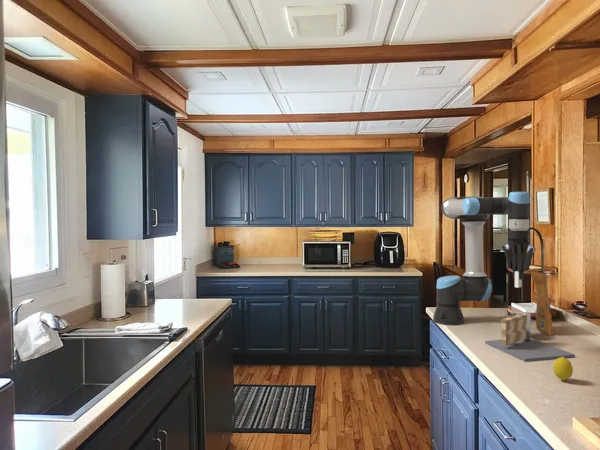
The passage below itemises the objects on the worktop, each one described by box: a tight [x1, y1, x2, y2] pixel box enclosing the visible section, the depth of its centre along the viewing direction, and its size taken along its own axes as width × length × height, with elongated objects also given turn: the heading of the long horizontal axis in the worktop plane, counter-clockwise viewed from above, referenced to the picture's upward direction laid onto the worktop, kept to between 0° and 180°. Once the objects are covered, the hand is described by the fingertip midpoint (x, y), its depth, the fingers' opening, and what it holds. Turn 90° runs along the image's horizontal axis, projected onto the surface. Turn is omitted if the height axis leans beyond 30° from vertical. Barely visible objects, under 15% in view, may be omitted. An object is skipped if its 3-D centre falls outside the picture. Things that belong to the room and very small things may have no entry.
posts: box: [509, 311, 531, 345], centre depth 183 cm, size 3×14×13 cm, turn 112°
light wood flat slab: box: [500, 314, 527, 345], centre depth 179 cm, size 16×2×10 cm, turn 125°
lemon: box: [552, 357, 574, 382], centre depth 143 cm, size 6×6×8 cm
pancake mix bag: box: [530, 270, 554, 336], centre depth 204 cm, size 7×19×28 cm, turn 163°
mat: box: [484, 337, 576, 363], centre depth 176 cm, size 24×22×1 cm
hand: (518, 287), depth 177 cm, fingers closed
